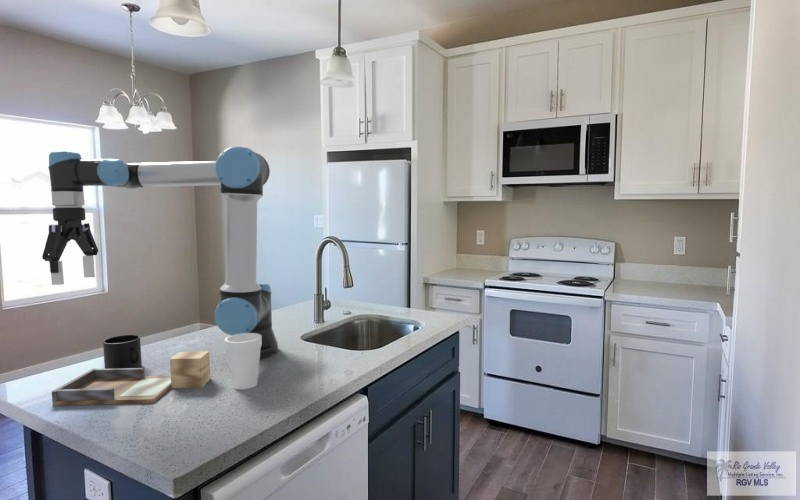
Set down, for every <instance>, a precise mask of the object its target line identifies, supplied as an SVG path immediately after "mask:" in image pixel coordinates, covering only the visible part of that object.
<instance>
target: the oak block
mask: <svg viewBox="0 0 800 500" xmlns="http://www.w3.org/2000/svg"><path fill="white" fill-rule="evenodd" d="M210 361H211V360H210V351H205V350H204V351H203V350H202V351H179V352H178V353H176V354H174V356H172V357H171V358H169V365H170V370H169V371H170V376H171V389H185V388H186V389H188V388H189V389H193V388H194V389H195V388H196V389H197V388H203V387H204V386H205V385H206V384H207V383H208V382H209V381H210V380H211V365H210Z"/></svg>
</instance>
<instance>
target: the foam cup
mask: <svg viewBox="0 0 800 500" xmlns="http://www.w3.org/2000/svg"><path fill="white" fill-rule="evenodd" d="M261 346H262V335H260V334H256V333H241V334H235V335H228V336H227V337H225V338H224V350H225V353H226V358H227V363H228V369H229V374H230V381H231V386H232V388H233V389H235V390H249V389H252V388H255V387H256V386H257V385H258V380H259V379H258V378H259V369H260V359H261V358H260V350H261Z"/></svg>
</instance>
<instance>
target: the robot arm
mask: <svg viewBox="0 0 800 500" xmlns="http://www.w3.org/2000/svg"><path fill="white" fill-rule="evenodd" d="M48 171H49V180H50V188H51V205H52V206H53V208H52V220H53V221H55V222H57V224H49V225H48V235H47V238H46V241H45V247H44V250H43V253H42V256H41V259H43V260H44V261H45V262H49V271H50V277H51V278H50V279H51V285H52V286H54V285H57V286H58V285H59V286H61V285H64V284H65V282H64V270H63V260H60V259H61V257H62V256H63V253H64V251H65V249H66V247H67V245H68V243H69V242H70V241H75V242H76V245H78V248H79V249H80V250H81V252H82V253H83V255H82V265H83V266H82V267H83V269H82V270H83V278H95V275H96V274H95V260H94V256H97V255H98V253H99V248H98V246H97V244H96V241H95V238H94V235H93V234H92V231H91V225H90V223H89V222H86V223H84V222H82V221H85V220H86V209H85V208H84V207H83V206H85V205H86V204H85V193H84V187H87V186H88V187H89V186H90V187H91V186H92V187H93V186H95V187H97V186H98V187H114V188H126V189H138V188H155V187H156V188H157V187H158V188H159V187H161V188H162V187H184V186H185V187H195V186H196V187H197V186H200V187H201V186H220V195H221V197H222V198H223V199H225V282H224V283H223V284H222V285H221V286H220V287H219V303H218V304H217V306H216V308H215V311H214V321H215V323H216V326H217V327H218V328H219V329H220V330H221V331H222V332H223V333H224V334H226V335H228V336H231V335H235V334H241V333H256V334H260V335H262V346H261V350H260V359H264V358H269V357H272V356H274V355H276V354H277V353H278V352H279V343H278V341H277V337H276V336H275V335H276V334H275V332H274V330H273V320H272V315H273V314H272V291H271V285H270V284H269V283H258V282H257V259H258V257H257V255H258V254H257V249H258V248H257V247H258V246H257V245H258V243H257V242H258V240H257V239H258V236H257V235H258V202H259V200H260V199H261V198H263V195H264V192H263V191H264V185H266V183H268V180H269V178H270V173H271V171H270V166H269V162H268V161H267V160H266V159H265V157H264V156H262V155H261V154H259V153H258V152H255V151H253V150H252V149H250V148H248V147H246V146H245V147H244V146H231V147H228V148H226V149H225V150H223V151H222V152H221V153H220V154H219V155H218V157H217V159H216V160H209V161H208V160H205V161H203V160H202V161H200V160H199V161H167V162H165V161H164V162H131V163H130V162H129V163H128V162H127V163H126V162H124V160H122V159H119V158H117V159H116V158H92V159H90V158H88V159H87V158H82V156H81V154H80V153H79V152H77V151H76V152H74V151H67V150H66V151H63V150H59V151H58V150H57V151H56V150H55V151H51V152H49V154H48Z"/></svg>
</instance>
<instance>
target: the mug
mask: <svg viewBox="0 0 800 500" xmlns="http://www.w3.org/2000/svg"><path fill="white" fill-rule="evenodd" d="M102 345H103V347H102V349H103V359H104V360H103V361H104V363H103V364H104V369H115V368H142V366H143V364H142V363H143V362H142V345H141V336H140V335H137V334H126V335H125V334H123V335H117V336H112V337H109V338H106V339H104V340H103V341H102Z"/></svg>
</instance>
